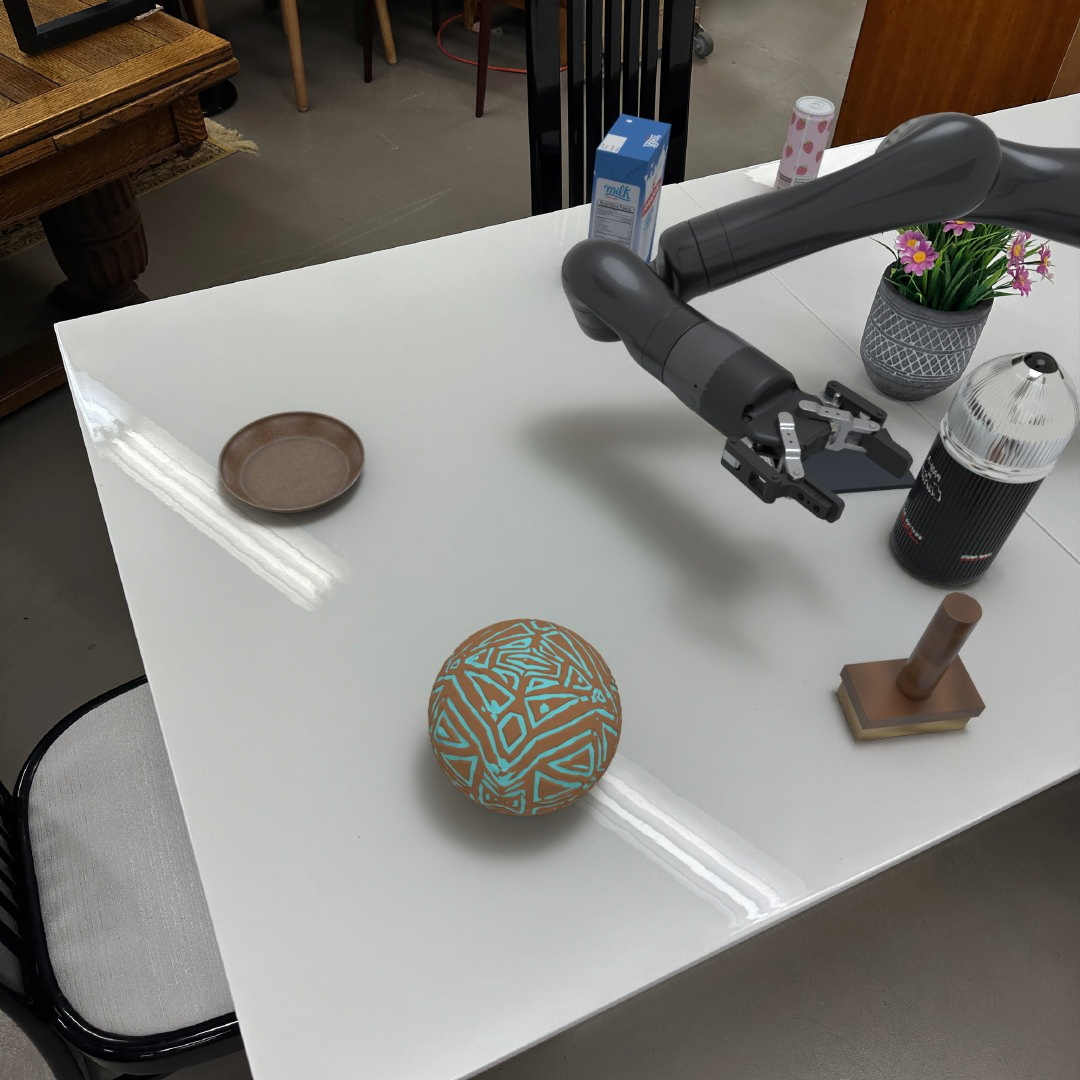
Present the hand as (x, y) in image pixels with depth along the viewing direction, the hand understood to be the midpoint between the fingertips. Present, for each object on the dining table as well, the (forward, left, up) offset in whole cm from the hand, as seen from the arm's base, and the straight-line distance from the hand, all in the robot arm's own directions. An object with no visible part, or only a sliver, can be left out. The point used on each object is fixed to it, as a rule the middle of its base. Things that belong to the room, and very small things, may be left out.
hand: (874, 491), depth 76 cm
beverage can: (-23, -76, -19) cm, 82 cm away
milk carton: (+7, -58, -19) cm, 62 cm away
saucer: (+48, -26, -20) cm, 58 cm away
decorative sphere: (+29, +10, -20) cm, 36 cm away
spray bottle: (-16, -8, -19) cm, 27 cm away
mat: (-11, -22, -19) cm, 31 cm away
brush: (-5, +9, -19) cm, 22 cm away
